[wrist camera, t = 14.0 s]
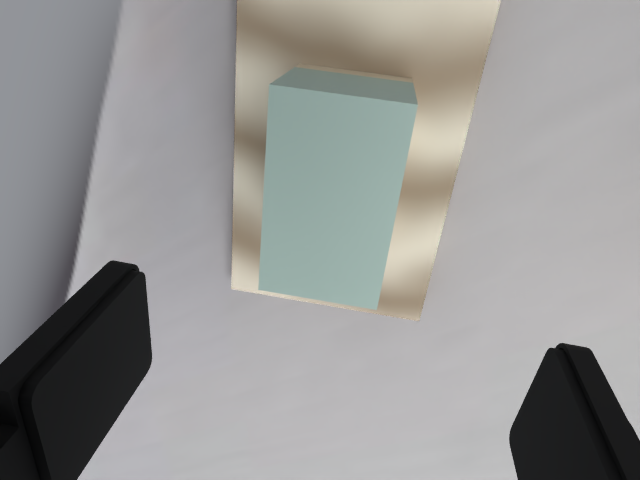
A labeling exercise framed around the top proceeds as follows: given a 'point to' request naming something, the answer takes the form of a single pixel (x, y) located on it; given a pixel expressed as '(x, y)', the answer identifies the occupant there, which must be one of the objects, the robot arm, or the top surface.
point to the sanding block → (333, 181)
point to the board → (373, 57)
